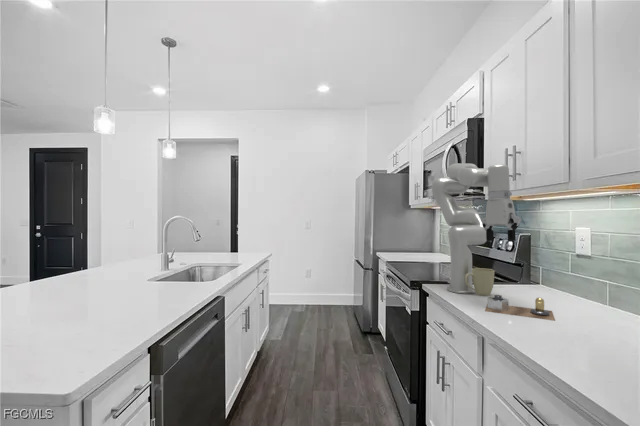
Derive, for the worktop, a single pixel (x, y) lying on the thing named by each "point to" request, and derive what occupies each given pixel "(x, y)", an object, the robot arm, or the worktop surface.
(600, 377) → the worktop surface
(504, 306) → the white octagonal block
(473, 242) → the robot arm
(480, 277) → the mug
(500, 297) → the stand rod
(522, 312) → the base board
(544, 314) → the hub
